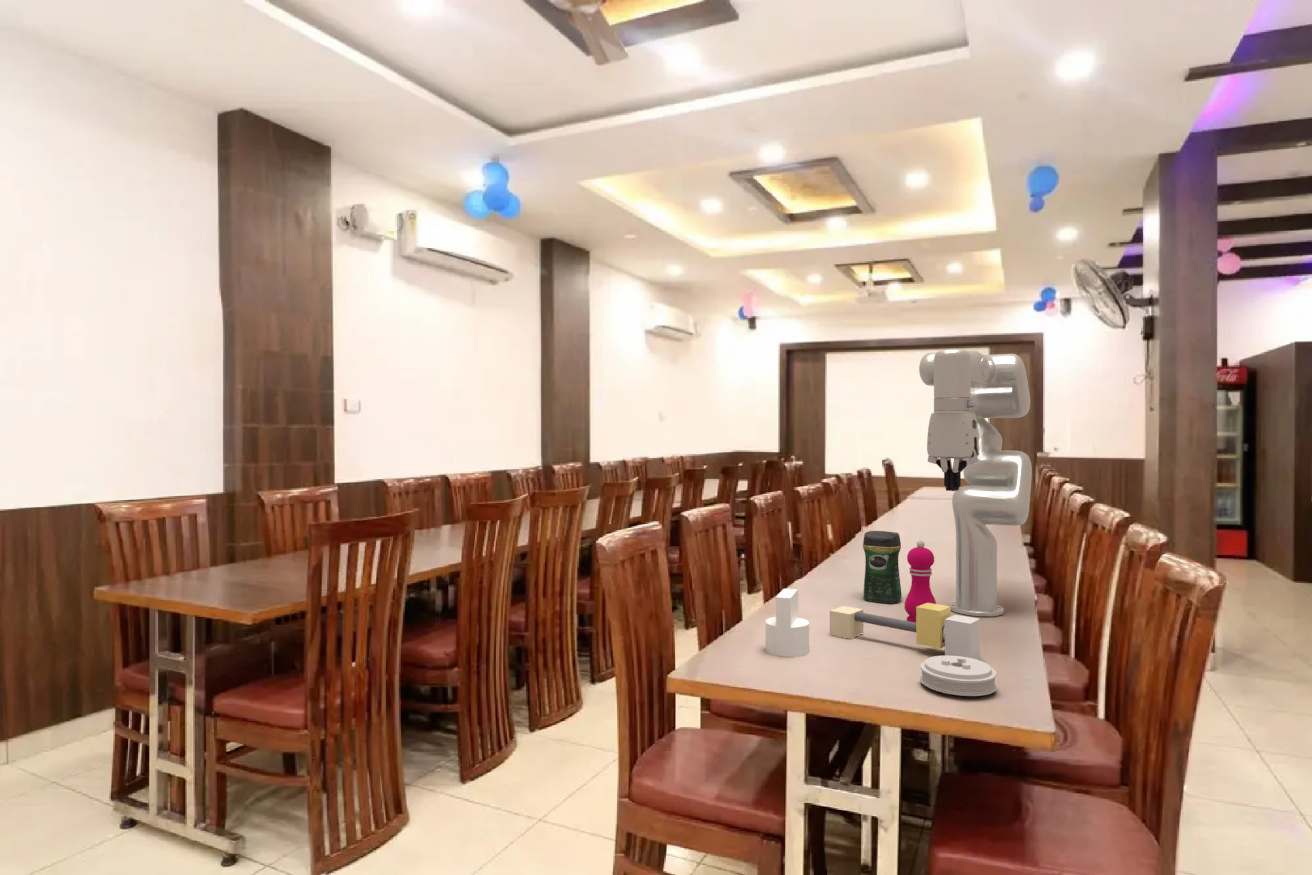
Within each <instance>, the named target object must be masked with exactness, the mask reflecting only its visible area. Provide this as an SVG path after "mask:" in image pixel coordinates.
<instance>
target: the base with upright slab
mask: <svg viewBox="0 0 1312 875" xmlns="http://www.w3.org/2000/svg"><path fill="white" fill-rule="evenodd" d="M765 651H766V653H768V654H770V655H773V656H777V657H785V658H796V657H798V658H799V657H803V656H805V654H806V655H808V654H809V653H810V622H809V620H807V619H805V618H802V617H799V589H795V588H782V590H781V591H780V592H779V593H778V594H777V595H776V597H775V616H774V617H769V618H767V619H765Z"/></svg>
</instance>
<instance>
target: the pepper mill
mask: <svg viewBox="0 0 1312 875" xmlns="http://www.w3.org/2000/svg"><path fill="white" fill-rule="evenodd" d="M925 545H926V544H925V542H924V541H923V540H918V541H917V542H916V547H913V548H911V549H910V550H909V551H908V553H907V555H906V560H907V563H908V564H909V566H910V567H909V573H908V574H910V575H911V585H910V590H909V592H908V593H907V596H906V597H905V599H904V600H905V601H904V606H903V607H904V608H903V609H904V610H905V612H906V613H907V615H908V616H907V617H906V621H909V622H915V623H916V607H918V606H920V605H923V604H925V603H932V604H937V601H936V599H935V596H934V595H933V592H932V589H931V582H930V580H931V576H932V575H933V573H932V571H933V569H932V568H931V567H932V566H933V565H934V564H935V555H934V553H933V551H932V550H930V549H929V548H927V547H925Z"/></svg>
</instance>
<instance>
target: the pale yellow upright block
mask: <svg viewBox="0 0 1312 875" xmlns="http://www.w3.org/2000/svg"><path fill="white" fill-rule="evenodd" d="M951 613H952V610H951V606H950V605H944V604H938V603H936V604H932V603H925V604H923V605H920V606H918V607H916V632H915V635H916V636H915V637H916V638H915V639H916V640H915V644H917V645H920V646H925V647H930V648H936V649H939V650H940V649H942V648H945V641H944V640H943V638H942V628H944V627H945V619H947V618H949V617H951V615H952V614H951Z"/></svg>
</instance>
